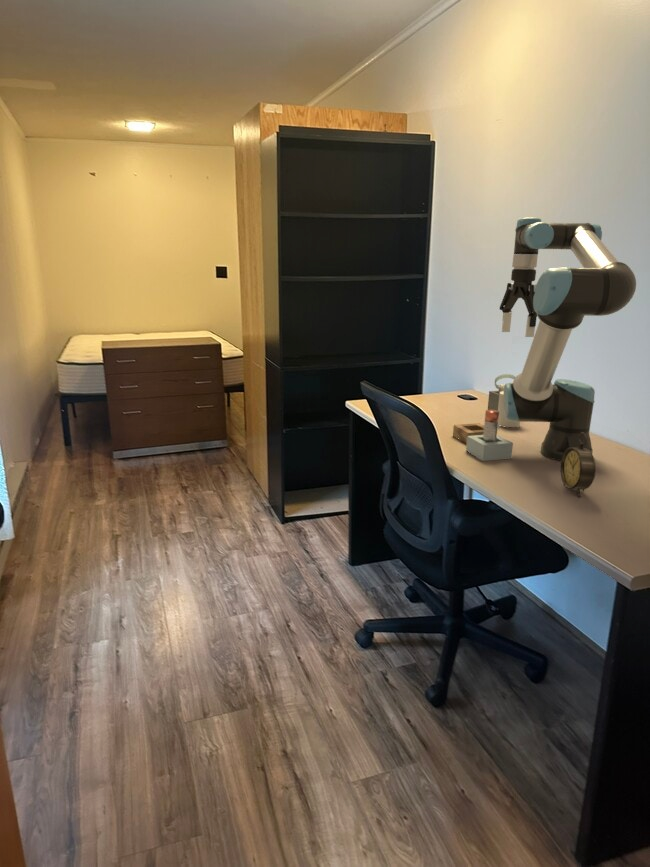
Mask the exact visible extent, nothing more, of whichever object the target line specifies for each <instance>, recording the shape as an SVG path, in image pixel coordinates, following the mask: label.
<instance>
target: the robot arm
mask: <svg viewBox="0 0 650 867" xmlns="http://www.w3.org/2000/svg"><path fill="white" fill-rule="evenodd" d="M602 236H603V231H602V227H601V225H600V224H598V223H591V222H579V223H578V222H571V223H570V222H562V223H561V222H544V221H542V218H540V217H519V218H518V219H517V222H516V227H515V238H514V248H513V257H512V268H513V269H511V275H510V276H511V278H510V281H512V282H508V283H507V285H506V290H505V293H504V294H503V298H502V300H501V303H500V305H499V310H500V311H502V328H501V333H510V332H511V323H512V315H513V312H512V309H513V308H514V306H515V305H516V303H517V301H518V300H519V299H521V300H523V301H524V304H525V308H526V309H527V312H528V314H527V317H526V325H525V326H526V327H525V336H524V337H525V338H533V339H532V342H531V345H530V349H529V351H528V353H527V357H526V360H525V363H524V365H523V368H522V371H521V373H519V374H517V375H515V379H513V382H508V383H505V384H504V385H505V386H504V394H503V399H504V411H505V415H506V418H507V419H508V420H510V421H518V422H520V423H521V422H522V423H523V422H529V423H530V422H531V423H549V427H548V430H547V431H546V434H545V437H544V439H543V441H542V443H541V445H540V449H539V452H540V453H541V455H543V456H545V457H548V458H550V459H551V460H556V461H561V459H562V456H563V454H564V452H565V451H566V450H567V449H568V448H570V447H575V448H579V447H580V441H581V443H585V440H586V439H585V435H584V434H581V436H580V441H579V435H580V433H582V432H583V433H585V434H586V437H587V441H586V444H585V445H583V448H586V449H588V450H589V451H590V452H591V453H592V454H593V447H592V446H593V445H592V442H591V435H590V429H591V423H592V415H593V411H594V404H595V395H596V394H595V393H596V391H595V388H594V387H593V386H592V385H590V384H586V383H584V382H580V381H577V380H571V379H564V378H557V379H555V381H554V382H553V383H554V384H553V383H552V380H553V378H554V377H555V376H554V375H555V373H556V371H557V368H558V365H559V364H560V363H559V362H560V360H561V357H562V355H563V353H564V350H565V348H566V346H567V343H568V340H569V338H570V336H571V334H572V331H573V329H577V328H578V327H579V326H580V325H581V324H582V322H583V321H584V320H583V319H584V317H585V316H591V317H594V316H597V317H599V316H600V317H601V316H602V317H603V316H608V315H611V314H614V313H617V312H620V310H622V309H623V308H624V307H625V308H626V306H627V305H628V304H629V303H630V302H631V300H632V299H633V297H634V295H635V292H636V289H637V279H636V275H635V273H634V271H633V270H632V269H631V267H629V265H627V263H625V262H621V261H618V259H617V258H616V257H615V255H613V253H612V252H611V251H610V250H609V249H608V248H607V246H606V245H605V244H604V242H602ZM539 250H571V251H572V252H573V254H574V256H575V257H576V258H577V260H578V261H579V263H580V264H581V265H582V267H568V266H561V267H552V268H551V267H550V268H548V269H546V270H545V271H543V272H542V274H541V275H540V277H539V278H538V280H537V282H536V284H533V282H535V280H536V277H537V269H535V268H537V266H538V265H537V263H538V257H539V256H538V255H539ZM537 319H538V320H539V321H538V325H537ZM536 325H537V327H536ZM535 330H536V331H535Z"/></svg>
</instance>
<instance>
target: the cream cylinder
mask: <svg viewBox="0 0 650 867" xmlns="http://www.w3.org/2000/svg"><path fill="white" fill-rule="evenodd" d="M503 394H504V391H502V392H500V394H499V404H498V411H499V419H498V425H501V426H505V427H518V426H519V427H520V425H521V422H518V421H510V420H508V419H507V418H506V415H505V411H504V399H503ZM519 427H518V428H519Z"/></svg>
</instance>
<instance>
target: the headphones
mask: <svg viewBox="0 0 650 867" xmlns="http://www.w3.org/2000/svg"><path fill="white" fill-rule="evenodd" d="M515 377H516V375H513V374H511V373H510V374H507V373H506V374H501V375H498V376H497V377H495V379H494V387H495V388H496V389H497V390H498V391H499V392H502V391H504V386H505V384H504V383H501V384H497V382H498V381H499V380H501V379H507V378H508V379H512V380H514V379H515Z"/></svg>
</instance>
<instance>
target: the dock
mask: <svg viewBox="0 0 650 867" xmlns="http://www.w3.org/2000/svg"><path fill="white" fill-rule="evenodd" d="M513 446H514V442H512V441H510V440H508V439H506V438H504V437H502V436H501V435H498V434H497V439H496V442H489V443H486V442H484V441H483V435H474V436H467V444H466V446H465V448H466V449H465V452H467V451H468V452H469V454H470V453H471V454H470V455H472V456H473V455H474V456H473V457H475V456H476V457H475V458H476V459H478V458H479V460H480V461H482V462H487V461H498V460H507V459H508V460H509V459H510V460H511V459H512V456H513ZM468 452H467V453H468Z"/></svg>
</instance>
